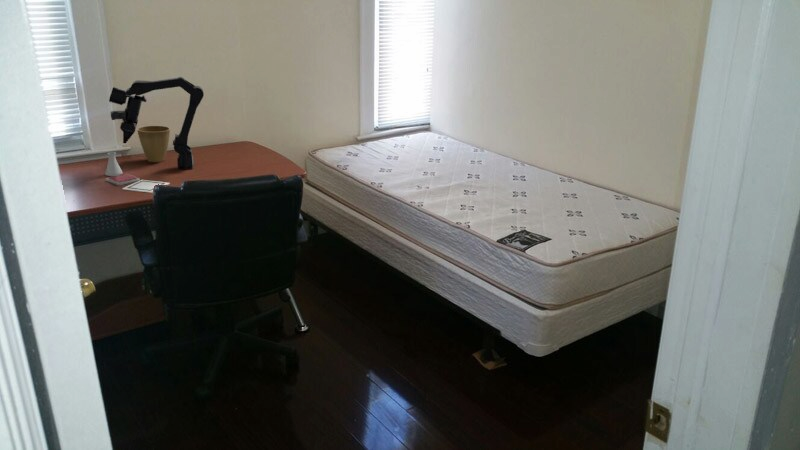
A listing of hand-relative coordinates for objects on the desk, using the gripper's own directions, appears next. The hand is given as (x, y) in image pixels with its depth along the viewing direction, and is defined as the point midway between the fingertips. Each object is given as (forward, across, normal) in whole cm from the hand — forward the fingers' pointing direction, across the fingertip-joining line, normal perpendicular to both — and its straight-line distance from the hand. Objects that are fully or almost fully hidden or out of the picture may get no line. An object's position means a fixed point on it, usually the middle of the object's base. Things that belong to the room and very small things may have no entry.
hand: (125, 140), depth 294 cm
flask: (+15, +6, -1) cm, 16 cm away
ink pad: (+14, +18, +3) cm, 22 cm away
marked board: (+10, +28, +13) cm, 33 cm away
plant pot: (+10, -15, +16) cm, 24 cm away
